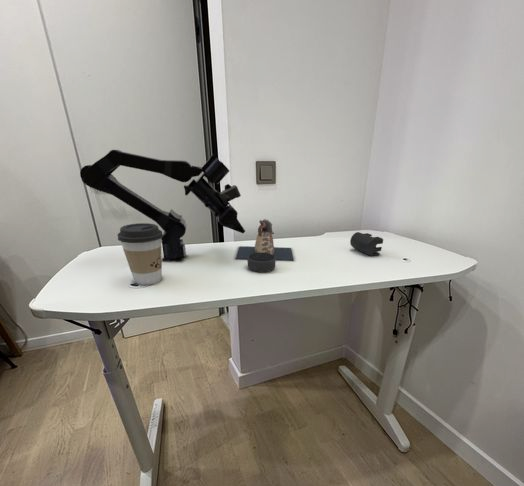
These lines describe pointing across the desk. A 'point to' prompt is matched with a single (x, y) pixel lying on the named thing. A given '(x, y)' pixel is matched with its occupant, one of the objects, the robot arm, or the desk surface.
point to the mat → (279, 253)
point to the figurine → (264, 238)
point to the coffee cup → (143, 251)
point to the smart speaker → (261, 262)
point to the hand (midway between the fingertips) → (241, 229)
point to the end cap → (366, 243)
